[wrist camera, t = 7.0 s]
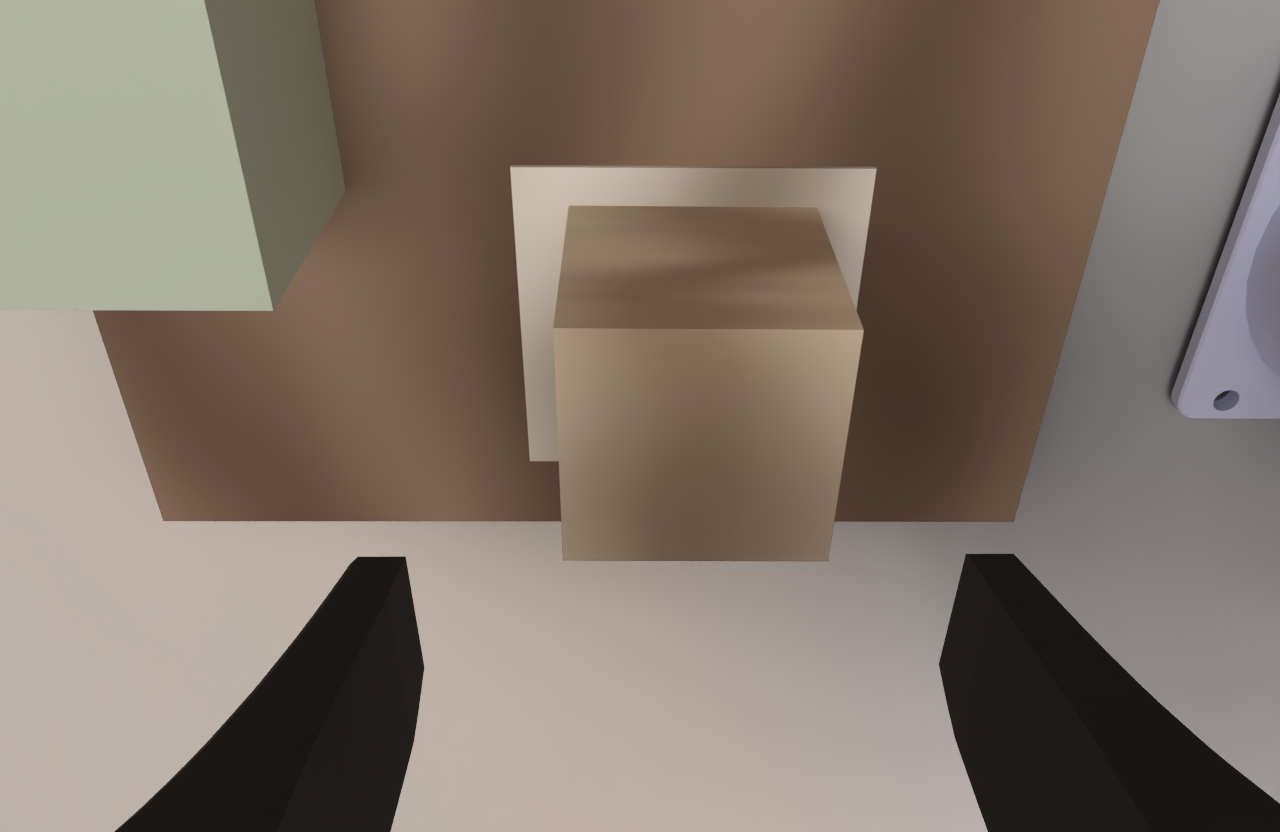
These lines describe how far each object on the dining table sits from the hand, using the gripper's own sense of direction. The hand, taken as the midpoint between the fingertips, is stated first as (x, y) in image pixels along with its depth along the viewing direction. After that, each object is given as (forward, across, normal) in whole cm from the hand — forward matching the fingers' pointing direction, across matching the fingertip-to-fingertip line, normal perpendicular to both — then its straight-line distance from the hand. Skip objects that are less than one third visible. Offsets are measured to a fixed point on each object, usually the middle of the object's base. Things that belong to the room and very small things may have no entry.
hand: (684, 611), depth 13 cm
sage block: (+8, +8, -5) cm, 12 cm away
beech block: (+8, 0, 0) cm, 8 cm away
